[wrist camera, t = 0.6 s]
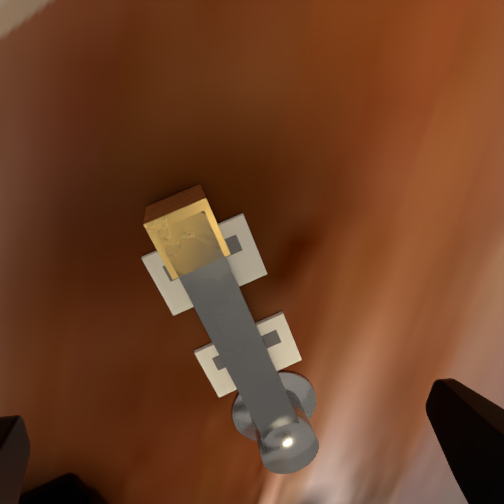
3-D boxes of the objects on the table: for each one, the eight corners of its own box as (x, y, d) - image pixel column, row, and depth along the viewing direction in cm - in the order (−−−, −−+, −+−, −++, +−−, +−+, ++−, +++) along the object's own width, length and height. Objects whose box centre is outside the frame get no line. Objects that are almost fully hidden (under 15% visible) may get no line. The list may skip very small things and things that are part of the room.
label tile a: (218, 394, 26) (219, 398, 25) (194, 350, 24) (194, 353, 24) (300, 357, 26) (302, 360, 26) (282, 311, 24) (283, 314, 24)
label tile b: (173, 313, 23) (173, 316, 22) (141, 256, 21) (141, 259, 21) (266, 272, 23) (267, 274, 23) (242, 212, 21) (243, 214, 21)
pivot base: (249, 450, 28) (250, 454, 28) (218, 394, 26) (219, 397, 25) (324, 416, 29) (325, 419, 28) (300, 357, 26) (301, 359, 26)
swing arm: (306, 416, 28) (325, 457, 24) (260, 437, 27) (273, 482, 24) (205, 181, 20) (213, 198, 17) (140, 209, 20) (136, 231, 17)
